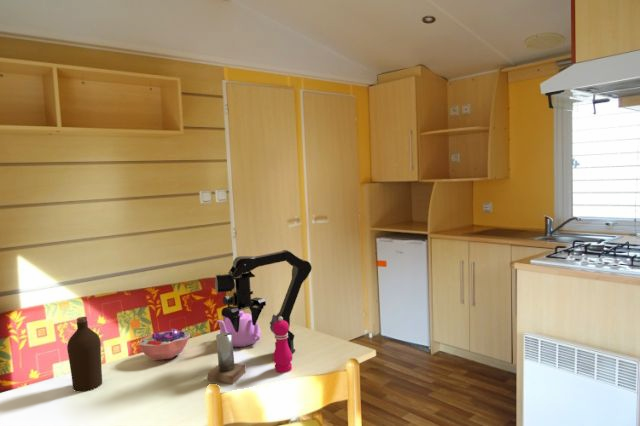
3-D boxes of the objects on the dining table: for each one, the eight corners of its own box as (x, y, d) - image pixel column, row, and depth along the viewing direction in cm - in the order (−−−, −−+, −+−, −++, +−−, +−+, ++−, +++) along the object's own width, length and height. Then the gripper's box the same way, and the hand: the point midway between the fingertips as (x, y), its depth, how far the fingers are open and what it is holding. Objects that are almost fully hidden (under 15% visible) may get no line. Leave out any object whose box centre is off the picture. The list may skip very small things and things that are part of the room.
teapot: (201, 347, 197) (199, 316, 196) (237, 332, 215) (235, 303, 214) (238, 357, 184) (235, 323, 183) (273, 339, 202) (271, 309, 201)
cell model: (140, 354, 192) (137, 328, 192) (189, 346, 200) (187, 320, 199) (140, 369, 177) (138, 341, 176) (193, 359, 184) (191, 332, 183)
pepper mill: (296, 366, 172) (293, 314, 170) (287, 374, 165) (284, 320, 164) (279, 364, 175) (276, 313, 173) (270, 371, 168) (266, 318, 167)
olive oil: (80, 395, 157) (74, 324, 155) (65, 388, 163) (58, 320, 161) (110, 383, 165) (104, 315, 164) (94, 377, 171) (88, 312, 170)
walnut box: (245, 372, 169) (245, 364, 169) (232, 384, 159) (232, 375, 159) (221, 370, 172) (221, 362, 172) (207, 381, 162) (207, 373, 162)
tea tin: (235, 364, 168) (232, 331, 168) (233, 371, 163) (231, 337, 162) (219, 366, 168) (217, 333, 167) (217, 372, 162) (215, 338, 161)
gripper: (246, 282, 190) (248, 319, 191) (210, 292, 175) (213, 332, 176) (265, 284, 183) (267, 323, 184) (230, 295, 168) (233, 337, 169)
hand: (245, 328), depth 179 cm, fingers open, 9 cm apart
